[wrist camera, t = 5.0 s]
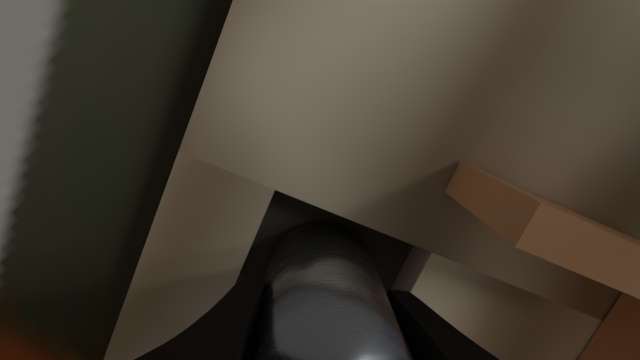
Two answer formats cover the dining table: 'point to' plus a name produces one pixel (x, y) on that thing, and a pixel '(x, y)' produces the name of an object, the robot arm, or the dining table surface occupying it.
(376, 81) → the board
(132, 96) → the dining table surface
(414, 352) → the robot arm
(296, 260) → the peg
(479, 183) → the light brown open box
